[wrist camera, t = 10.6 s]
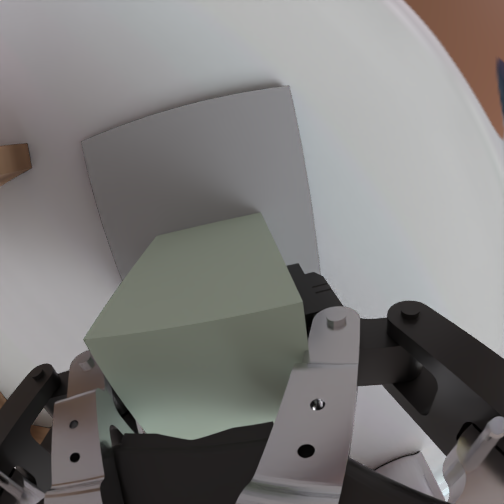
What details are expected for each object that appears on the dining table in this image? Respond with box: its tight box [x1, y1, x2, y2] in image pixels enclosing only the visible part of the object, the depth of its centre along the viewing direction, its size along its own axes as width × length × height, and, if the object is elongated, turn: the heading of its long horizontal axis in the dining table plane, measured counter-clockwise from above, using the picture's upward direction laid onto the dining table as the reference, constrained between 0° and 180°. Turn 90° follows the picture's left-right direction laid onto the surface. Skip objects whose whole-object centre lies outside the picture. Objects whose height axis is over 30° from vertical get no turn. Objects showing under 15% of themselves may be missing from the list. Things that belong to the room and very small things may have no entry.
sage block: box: [83, 213, 309, 440], centre depth 10 cm, size 5×5×8 cm
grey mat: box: [81, 86, 321, 281], centre depth 14 cm, size 10×16×1 cm, turn 11°
